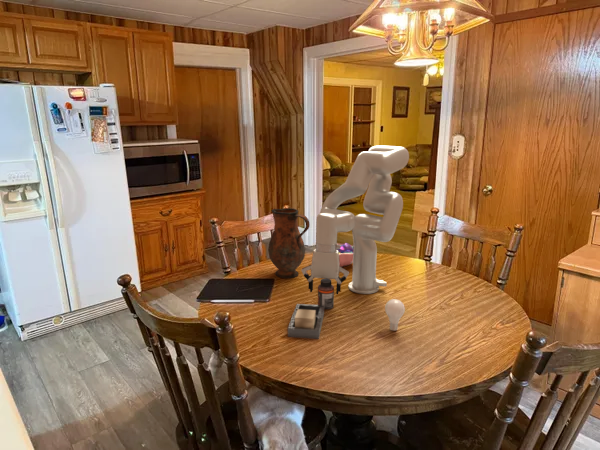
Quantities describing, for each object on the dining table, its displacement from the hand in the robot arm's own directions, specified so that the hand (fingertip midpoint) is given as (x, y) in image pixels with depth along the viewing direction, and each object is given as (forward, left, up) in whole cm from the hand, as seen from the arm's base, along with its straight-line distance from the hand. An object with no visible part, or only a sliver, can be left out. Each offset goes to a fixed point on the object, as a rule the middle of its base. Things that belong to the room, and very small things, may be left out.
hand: (324, 292), depth 150 cm
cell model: (-3, -49, -7) cm, 49 cm away
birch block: (+4, +18, -6) cm, 20 cm away
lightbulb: (-25, +12, -7) cm, 28 cm away
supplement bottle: (-1, -1, -7) cm, 7 cm away
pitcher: (+18, -32, -7) cm, 37 cm away
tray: (+4, +14, -7) cm, 16 cm away
